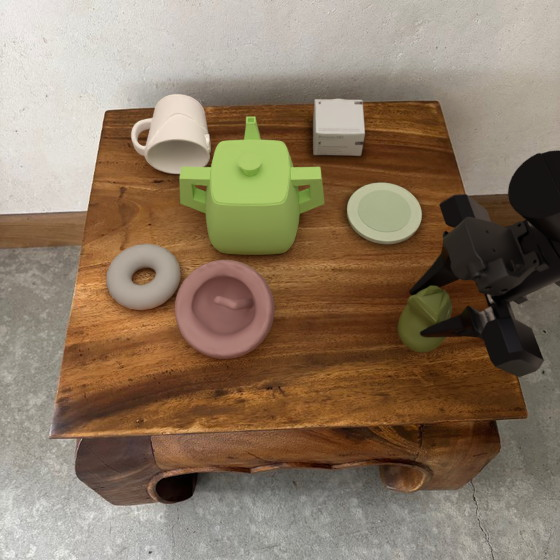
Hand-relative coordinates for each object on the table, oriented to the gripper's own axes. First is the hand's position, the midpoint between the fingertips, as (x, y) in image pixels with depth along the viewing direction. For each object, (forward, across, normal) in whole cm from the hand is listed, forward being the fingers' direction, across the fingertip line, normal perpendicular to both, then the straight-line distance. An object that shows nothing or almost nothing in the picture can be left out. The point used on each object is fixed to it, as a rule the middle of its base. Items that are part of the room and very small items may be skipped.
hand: (416, 314), depth 59 cm
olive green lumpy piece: (+4, 0, +6) cm, 7 cm away
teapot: (+20, -26, -3) cm, 33 cm away
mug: (+28, -39, -11) cm, 49 cm away
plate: (+7, -23, +11) cm, 26 cm away
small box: (+10, -39, +8) cm, 41 cm away
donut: (+31, -15, -14) cm, 37 cm away
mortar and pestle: (+24, -6, -6) cm, 25 cm away
